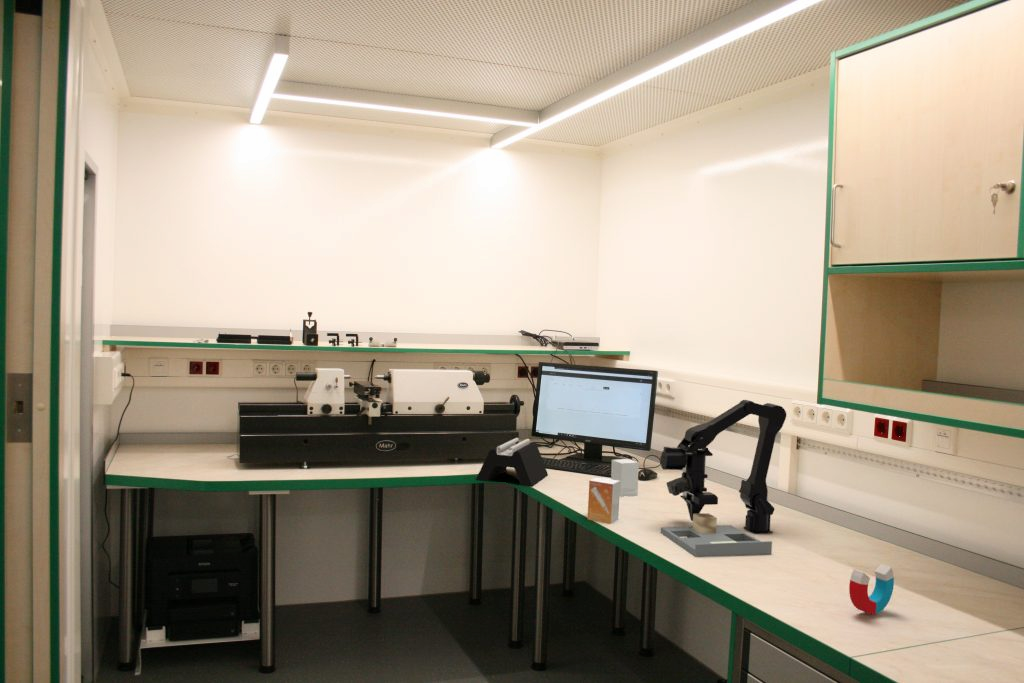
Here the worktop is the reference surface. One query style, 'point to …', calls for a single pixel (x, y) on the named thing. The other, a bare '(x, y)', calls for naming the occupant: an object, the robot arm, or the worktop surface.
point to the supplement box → (626, 476)
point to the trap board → (717, 541)
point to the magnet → (878, 596)
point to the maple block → (704, 523)
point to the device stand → (515, 462)
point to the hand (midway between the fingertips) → (692, 520)
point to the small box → (603, 500)
